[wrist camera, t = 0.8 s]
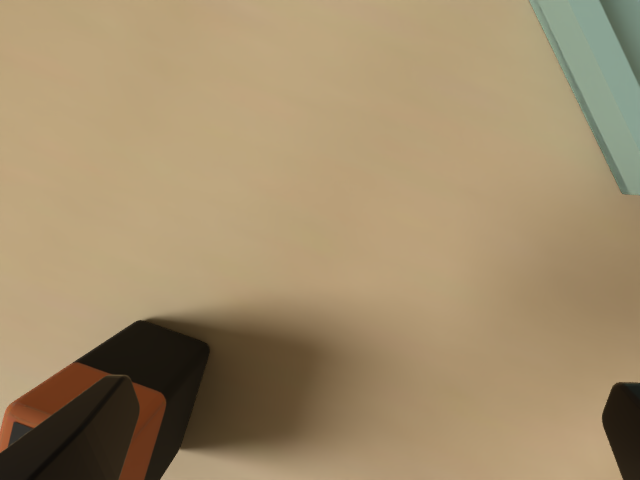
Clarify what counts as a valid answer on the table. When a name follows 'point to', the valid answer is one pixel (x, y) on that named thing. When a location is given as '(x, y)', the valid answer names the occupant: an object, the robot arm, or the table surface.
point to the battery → (150, 386)
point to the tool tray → (602, 73)
